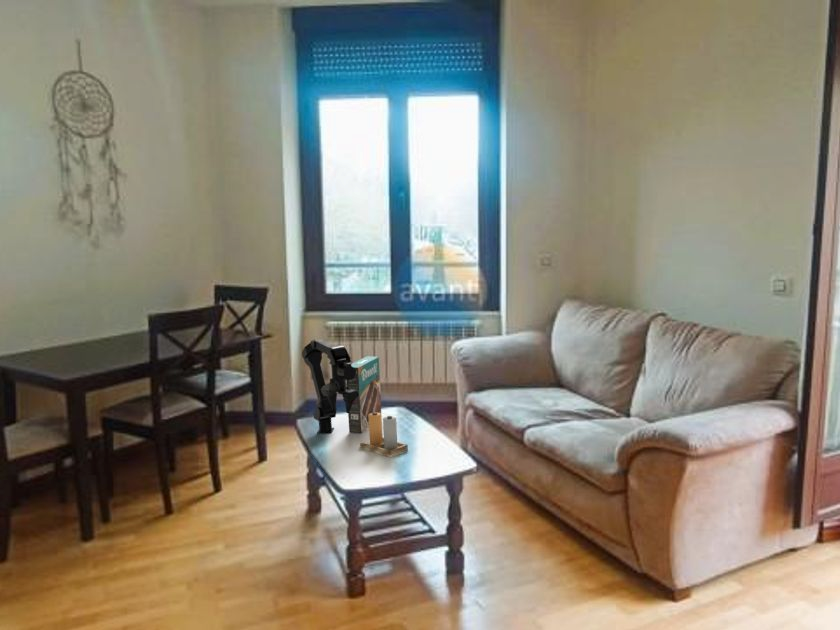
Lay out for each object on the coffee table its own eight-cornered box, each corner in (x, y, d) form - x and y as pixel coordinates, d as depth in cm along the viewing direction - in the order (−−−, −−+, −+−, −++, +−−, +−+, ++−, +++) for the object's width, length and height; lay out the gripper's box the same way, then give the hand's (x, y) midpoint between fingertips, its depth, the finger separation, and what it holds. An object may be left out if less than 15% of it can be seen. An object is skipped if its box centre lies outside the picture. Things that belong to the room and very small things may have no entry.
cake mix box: (361, 433, 301) (358, 367, 296) (349, 432, 303) (345, 366, 298) (381, 418, 321) (378, 356, 316) (370, 417, 323) (367, 356, 318)
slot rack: (359, 448, 283) (359, 442, 282) (377, 441, 290) (377, 435, 290) (390, 457, 271) (390, 451, 270) (407, 450, 278) (407, 444, 277)
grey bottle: (385, 446, 280) (383, 414, 278) (398, 446, 280) (396, 414, 277) (383, 451, 275) (381, 418, 273) (396, 451, 274) (395, 418, 272)
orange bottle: (368, 443, 285) (367, 411, 283) (381, 441, 286) (379, 410, 284) (371, 447, 280) (369, 415, 278) (384, 445, 281) (382, 413, 279)
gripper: (309, 376, 289) (312, 411, 291) (338, 382, 276) (340, 419, 279) (330, 371, 297) (332, 405, 299) (358, 377, 284) (360, 413, 287)
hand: (340, 411), depth 291 cm, fingers open, 9 cm apart
